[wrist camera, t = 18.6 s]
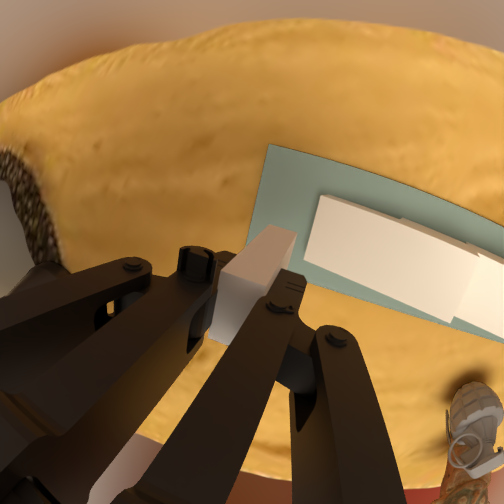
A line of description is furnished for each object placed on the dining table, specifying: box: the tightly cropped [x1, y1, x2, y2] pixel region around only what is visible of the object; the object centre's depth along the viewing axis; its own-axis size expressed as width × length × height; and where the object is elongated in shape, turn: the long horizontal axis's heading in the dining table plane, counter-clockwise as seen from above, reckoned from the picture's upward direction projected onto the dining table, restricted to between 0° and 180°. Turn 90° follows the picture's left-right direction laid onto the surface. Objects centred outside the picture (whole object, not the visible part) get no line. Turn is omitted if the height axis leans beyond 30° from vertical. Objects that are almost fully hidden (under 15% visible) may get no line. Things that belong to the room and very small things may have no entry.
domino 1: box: [303, 194, 480, 323], centre depth 20 cm, size 2×5×12 cm
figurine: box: [431, 438, 491, 504], centre depth 19 cm, size 8×8×15 cm
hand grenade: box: [446, 381, 504, 479], centre depth 19 cm, size 6×6×11 cm
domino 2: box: [400, 217, 504, 339], centre depth 18 cm, size 2×5×12 cm
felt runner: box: [245, 144, 504, 343], centre depth 21 cm, size 32×10×1 cm, turn 77°
